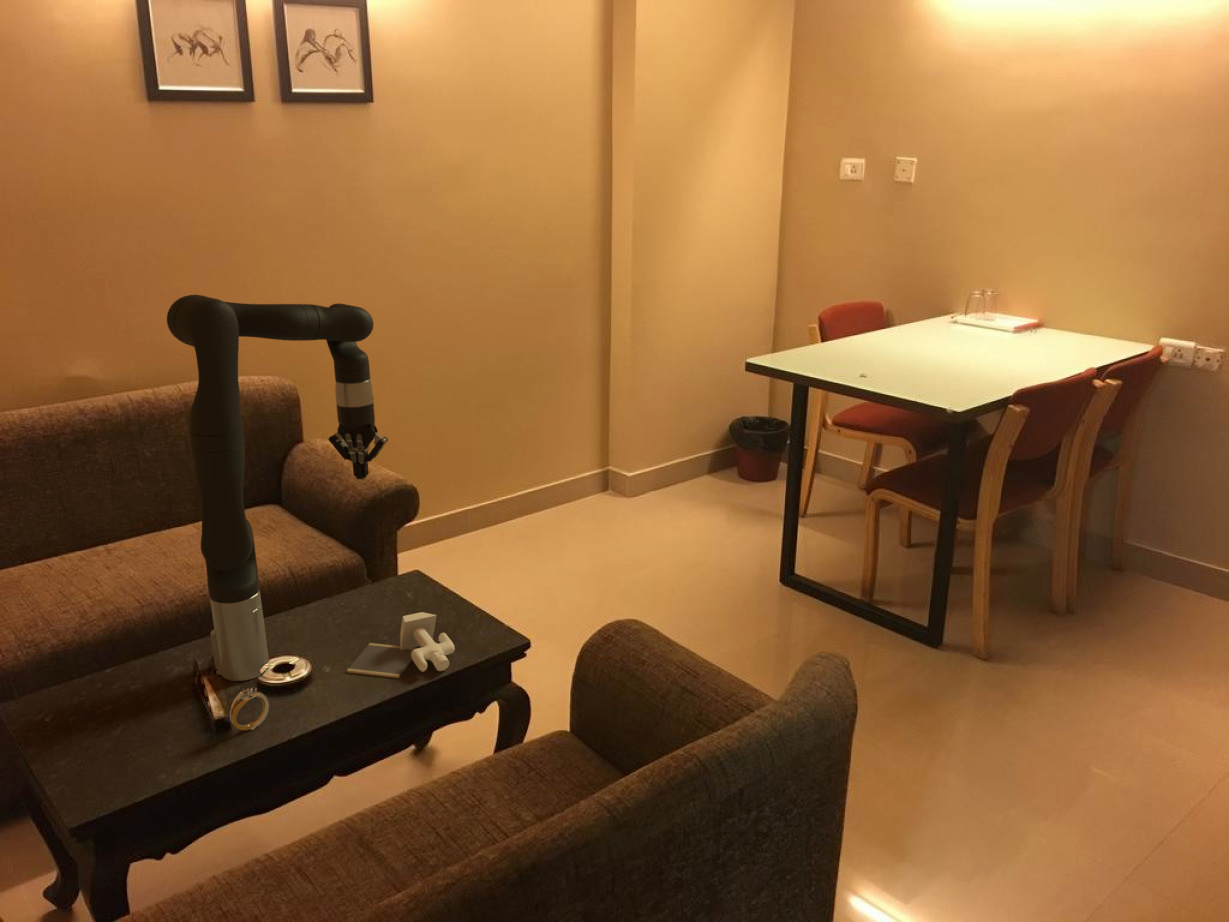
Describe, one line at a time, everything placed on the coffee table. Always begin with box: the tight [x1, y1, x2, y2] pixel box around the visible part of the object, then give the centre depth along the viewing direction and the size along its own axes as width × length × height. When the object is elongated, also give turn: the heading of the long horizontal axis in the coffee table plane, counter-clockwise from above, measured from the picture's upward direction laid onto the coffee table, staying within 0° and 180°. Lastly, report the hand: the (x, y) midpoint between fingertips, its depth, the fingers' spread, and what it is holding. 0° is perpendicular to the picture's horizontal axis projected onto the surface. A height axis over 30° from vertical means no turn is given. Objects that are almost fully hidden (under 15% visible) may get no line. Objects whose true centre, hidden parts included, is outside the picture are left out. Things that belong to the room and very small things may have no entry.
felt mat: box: [346, 642, 419, 679], centre depth 200 cm, size 11×11×1 cm
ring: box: [229, 687, 270, 731], centre depth 177 cm, size 7×3×8 cm, turn 132°
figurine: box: [399, 611, 456, 673], centre depth 201 cm, size 7×9×15 cm
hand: (361, 478), depth 209 cm, fingers closed
